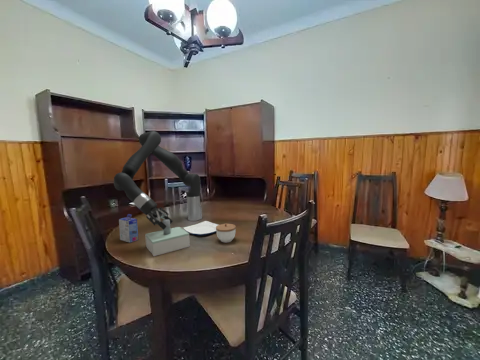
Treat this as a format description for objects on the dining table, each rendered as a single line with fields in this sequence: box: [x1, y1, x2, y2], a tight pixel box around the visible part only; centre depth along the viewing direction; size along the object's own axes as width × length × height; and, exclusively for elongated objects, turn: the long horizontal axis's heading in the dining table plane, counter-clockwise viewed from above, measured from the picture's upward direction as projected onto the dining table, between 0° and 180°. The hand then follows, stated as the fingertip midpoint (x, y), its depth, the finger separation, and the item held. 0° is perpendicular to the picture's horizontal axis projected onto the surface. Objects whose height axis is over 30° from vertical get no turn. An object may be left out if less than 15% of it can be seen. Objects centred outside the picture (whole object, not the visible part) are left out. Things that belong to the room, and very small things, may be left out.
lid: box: [144, 219, 190, 244], centre depth 117 cm, size 18×14×9 cm
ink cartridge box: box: [118, 213, 139, 243], centre depth 128 cm, size 10×6×14 cm, turn 58°
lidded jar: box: [215, 223, 237, 243], centre depth 124 cm, size 11×11×9 cm
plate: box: [182, 220, 219, 237], centre depth 142 cm, size 20×20×3 cm
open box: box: [144, 234, 191, 257], centre depth 118 cm, size 18×14×6 cm
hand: (168, 225), depth 117 cm, fingers open, 8 cm apart
